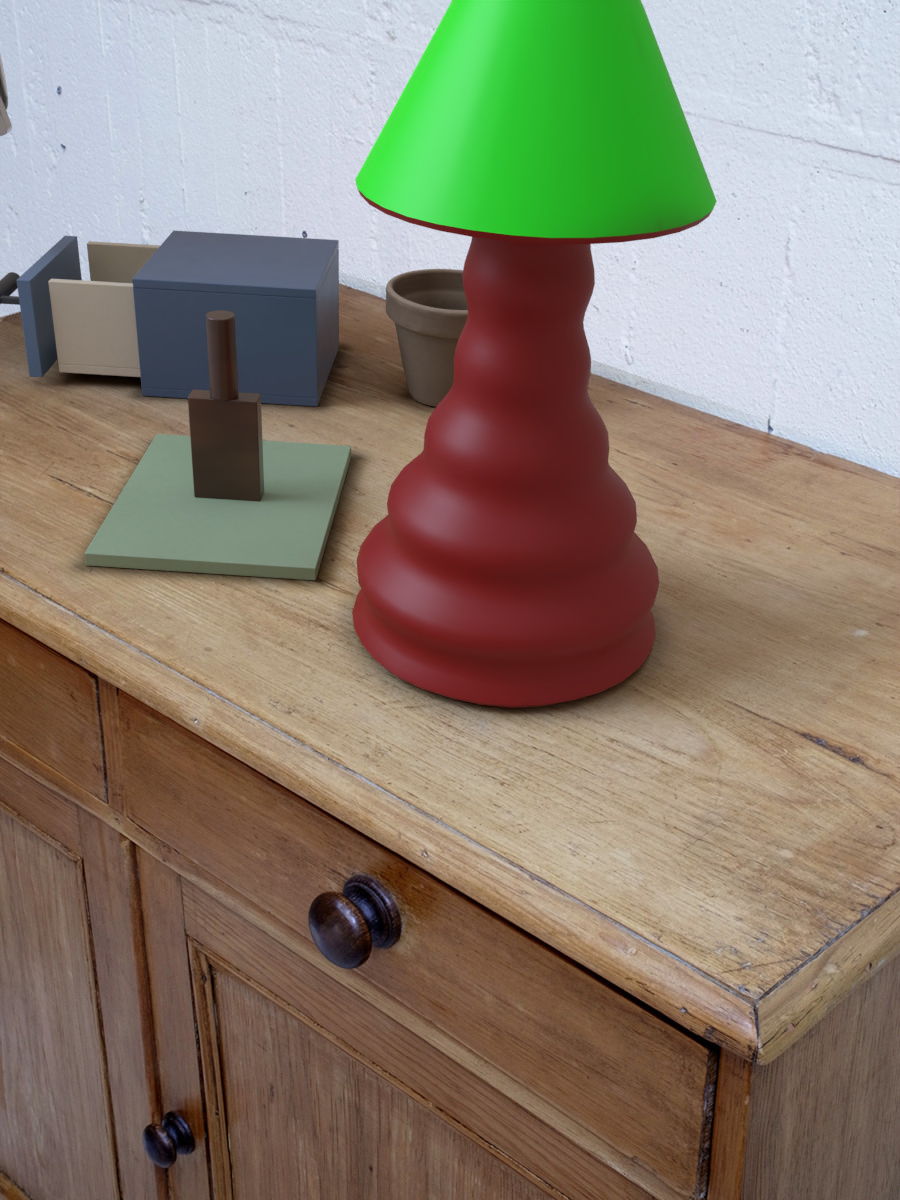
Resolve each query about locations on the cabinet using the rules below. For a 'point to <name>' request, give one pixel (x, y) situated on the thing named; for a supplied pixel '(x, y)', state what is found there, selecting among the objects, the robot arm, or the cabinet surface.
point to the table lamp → (524, 350)
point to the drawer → (80, 308)
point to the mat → (224, 515)
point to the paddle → (225, 423)
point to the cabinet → (240, 313)
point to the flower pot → (428, 328)
